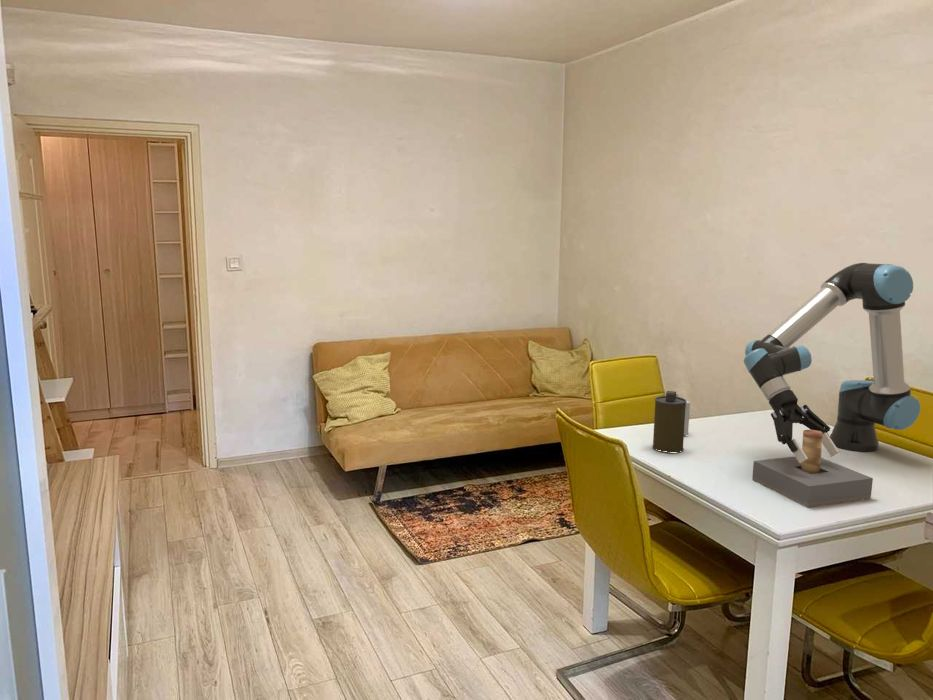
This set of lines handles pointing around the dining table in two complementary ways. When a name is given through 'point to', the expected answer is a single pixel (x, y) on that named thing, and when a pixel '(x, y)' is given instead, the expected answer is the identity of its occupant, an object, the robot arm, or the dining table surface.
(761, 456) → the dining table surface
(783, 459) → the socket block
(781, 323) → the robot arm
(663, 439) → the canister
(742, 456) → the dining table surface
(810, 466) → the oak peg
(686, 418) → the supplement box
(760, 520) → the dining table surface
